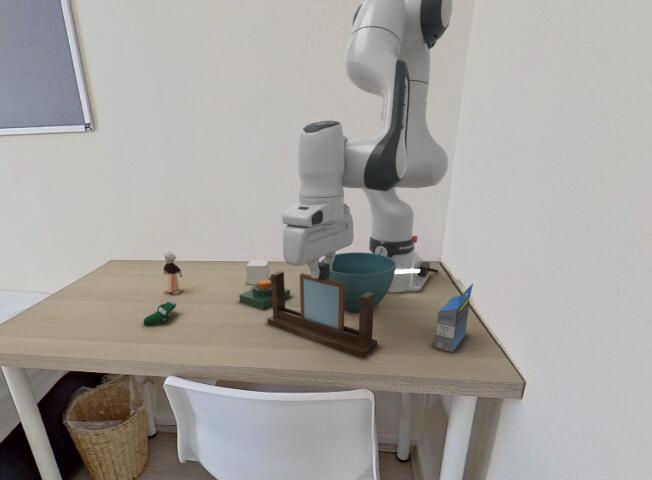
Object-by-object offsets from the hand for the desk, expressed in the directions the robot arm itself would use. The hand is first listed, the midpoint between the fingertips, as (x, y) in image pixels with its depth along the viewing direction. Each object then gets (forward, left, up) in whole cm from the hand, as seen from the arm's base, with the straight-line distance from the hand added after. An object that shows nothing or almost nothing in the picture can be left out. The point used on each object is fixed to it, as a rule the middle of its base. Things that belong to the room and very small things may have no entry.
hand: (321, 274), depth 83 cm
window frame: (0, -1, -14) cm, 15 cm away
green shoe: (+17, -38, -15) cm, 44 cm away
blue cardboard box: (-14, +23, -15) cm, 31 cm away
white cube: (-18, -37, -15) cm, 44 cm away
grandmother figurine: (+4, -51, -15) cm, 53 cm away
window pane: (0, 0, -13) cm, 13 cm away
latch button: (-8, -25, -11) cm, 28 cm away
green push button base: (-8, -25, -14) cm, 30 cm away
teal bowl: (-18, -2, -15) cm, 23 cm away
